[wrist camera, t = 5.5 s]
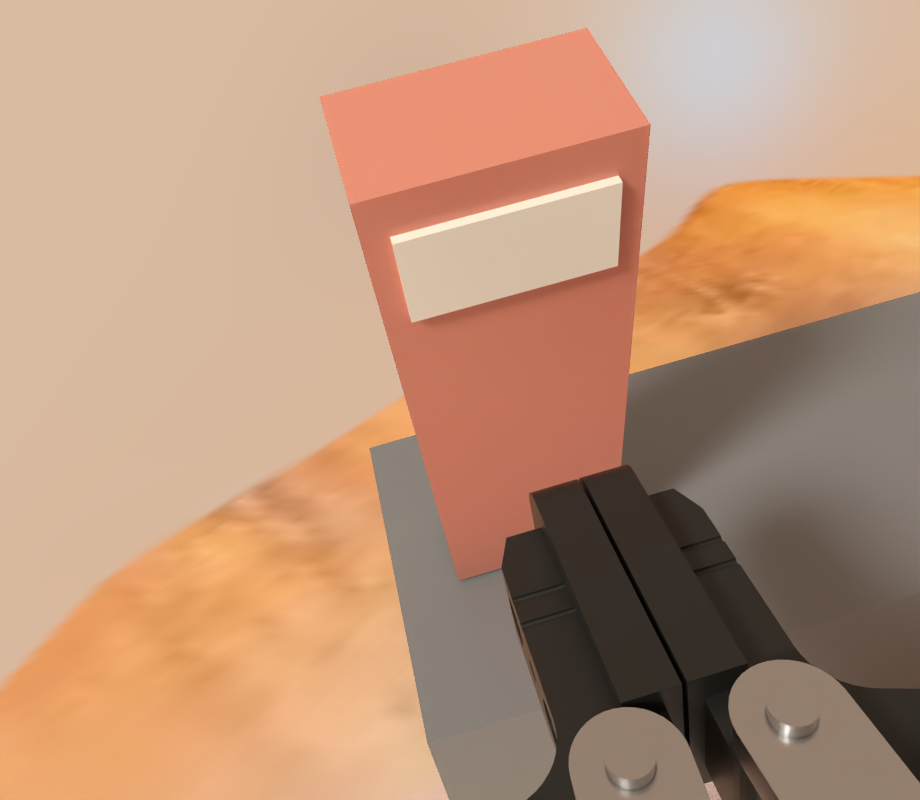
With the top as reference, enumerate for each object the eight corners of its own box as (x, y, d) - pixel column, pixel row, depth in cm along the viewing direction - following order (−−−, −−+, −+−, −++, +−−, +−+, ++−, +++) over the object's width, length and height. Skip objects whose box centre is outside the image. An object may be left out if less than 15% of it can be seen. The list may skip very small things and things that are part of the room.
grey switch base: (1009, 355, 29) (1035, 253, 27) (1312, 569, 21) (1388, 449, 18) (398, 532, 28) (368, 442, 25) (463, 835, 20) (427, 743, 17)
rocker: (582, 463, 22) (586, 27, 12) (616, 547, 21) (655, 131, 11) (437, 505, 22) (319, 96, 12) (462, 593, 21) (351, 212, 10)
